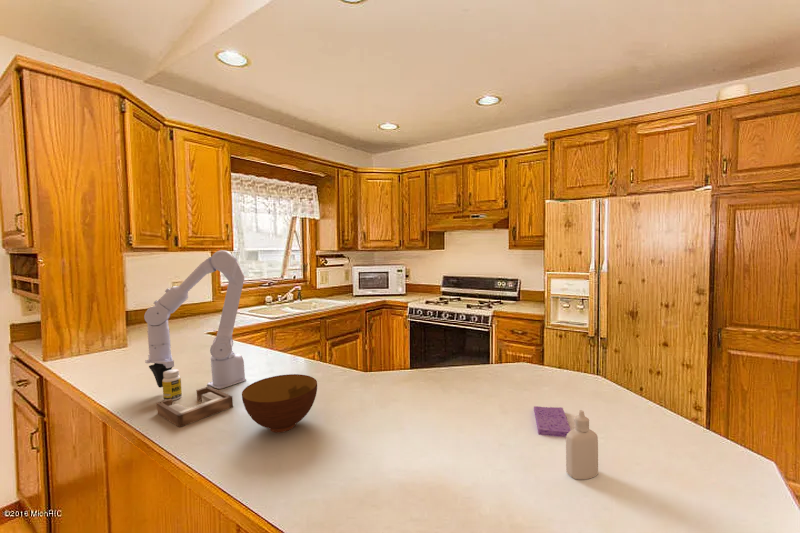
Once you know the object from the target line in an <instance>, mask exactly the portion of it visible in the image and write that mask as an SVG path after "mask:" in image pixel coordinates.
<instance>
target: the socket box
mask: <svg viewBox="0 0 800 533" xmlns="http://www.w3.org/2000/svg"><path fill="white" fill-rule="evenodd" d="M196 400H197V401H198V402H199V400H200V401H201V404H197V405H194V406H191V407H189V408H188V407H185V406H184V405H182V404H180V403H178V402H177V403H174V404H173V401H172V399H168V400H165V401H164V400H161V401H158V402H157V403H156V412H157V415H159V416H160V417H162V418H164V419H165V420H167V421H169V422H170V423H172V424H174V425H175V426H177V427H178V428H181V427H184V426H186V425H190V424H192V423H194V422H197V421H200V420H202V419H205V418H207V417H211V416H213V415H215V414H218V413H221V412H223V411H226V410H228V409H230V408H233V407H234V405H233V403H234V402H233V401H234V400H233V396H232V395H230V394H228V393H226V392H224V391H223V392H222V391H221V390H219V389H217V388H214V387H212V386H209V385H207V386H206V387H205V386H204V387H203V388H199V389H196Z"/></svg>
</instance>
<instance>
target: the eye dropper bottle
mask: <svg viewBox="0 0 800 533" xmlns="http://www.w3.org/2000/svg"><path fill="white" fill-rule="evenodd" d="M573 418H574V419H573V420H574V421H573V423H574V427H573V429H571V431H570V432H568V434H567V435H566V437H565V460H566V461H565V467H566V470H565V471H566V473H567V474H568V476H570V477H571V478H572V479H574V480H580V481H582V480H589V479H592V478H595V477H596V476H597V475H598V474H599V440H598V439H599V436H598V433H596V432H595V431H594V430H592V429H590V419H589V417H587V416H585V411H584V410H582V409H580V410H579V412H578V415H575V416H574V417H573Z"/></svg>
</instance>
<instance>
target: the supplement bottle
mask: <svg viewBox="0 0 800 533" xmlns="http://www.w3.org/2000/svg"><path fill="white" fill-rule="evenodd" d="M163 376H164V379H163V380H162V384H163V387H162V393H163V394H162V395H163V401H165V400H168V399H172V402H173V401H177V400H179V399H181V398H182V396H183V394H182V379H181V378H182V377H181V376H180V370H179V369H178V368H172V369H171V370H167V371H165V372H163Z"/></svg>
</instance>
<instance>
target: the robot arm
mask: <svg viewBox="0 0 800 533" xmlns="http://www.w3.org/2000/svg"><path fill="white" fill-rule="evenodd" d="M216 271H218V272H220V273H222V274H223V275H222V276H224V277H225V278H226V280H227V281H228V284H227V288H226V292H225V297H224V302H223V307H222V312H221V316H220V320H219V324H218V330H217V332H216V337H215V338H214V340H213V342H212V344H211V345H210V346H211V347H210V350H209V352H210V355H211V356H210V366H211V377H212V378H211V380H212V381H211V382H207V384H206V385H207V386H209V387H211V388H214V389H216V390H222V389H225V388H227V387H230V386H233V385H235V384H240V383H243V382H245V381H247V378H246V375H245V361H244V360H245V359H244V358H243V355H241V354H240V353H235V352H234V351H233V346H234V340H233V334H234V328H235V324H236V319H237V315H238V308H239V305H240V299H241V295H242V291H243V287H244V282H245V274H244V273H243V270H242V268H241V266H240V264H239V261H238V259H237V257H235V255H234V254H233V253H232V252H230V251H228V250H217V251H216V252H214V253H212V255H211V256H209V257H208V258H206V259H205V260H204V261H202V262H201V263H200V264H199V265H198V266H197V267H196V268H195V269H193V271H192V272H191V274H189V275H188V276H187V277H186V278H185V279H184V280H183V281H182V283H181V284H179V285H174V286H172V287H168V288H166V289H165V290H164V292H165V293H164V294H163V295H162V296H161V297H159V299H158V300H155V301H153V305H152V306H150V307H148V308H147V310H145V313H144V316H143V317H144V321H145V322H146V324H147V325H146V326H147V330H146V331H147V342H148V343H147V344H148V355H147V356H148V358H147V359H145V361H144V362H145V364H150V365H148V368H149V370H150V371H151V372H152V374H153V376H154V378H155V382H156V385H157V386H158V388H163V384H162V380H163V379H164V376H163V372H165V371H167V370H172V369H173V368H174V367H175V360H173V355H172V350H171V348H172V347H171V334H170V327H169V319H170V317H171V314H174V313H175V312H176V311H177V310H178V309H179V308H180V307H181V306H182V305H183V303H185V302H186V300H188V299H189V291H191V289H193V288H194V287H195V286H196V285H197V284H198V283H199V282H201V280H202V279H203V278H204V277H205V276H207V275H208V274H211V273H215V272H216Z"/></svg>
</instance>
